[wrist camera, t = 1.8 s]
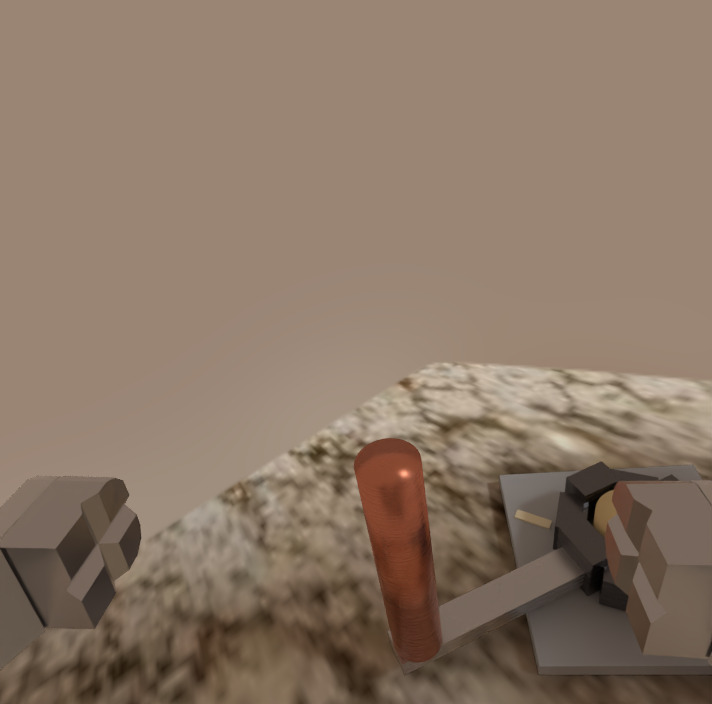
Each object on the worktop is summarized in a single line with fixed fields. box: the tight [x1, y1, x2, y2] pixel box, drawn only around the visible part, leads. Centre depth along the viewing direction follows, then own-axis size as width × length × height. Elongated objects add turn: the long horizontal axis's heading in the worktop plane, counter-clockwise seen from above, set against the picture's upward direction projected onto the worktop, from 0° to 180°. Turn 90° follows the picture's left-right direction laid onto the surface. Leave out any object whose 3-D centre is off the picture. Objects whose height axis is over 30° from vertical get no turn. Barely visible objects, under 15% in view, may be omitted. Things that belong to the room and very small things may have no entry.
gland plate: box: [499, 465, 712, 675], centre depth 33 cm, size 14×14×4 cm
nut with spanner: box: [354, 438, 680, 675], centre depth 28 cm, size 21×9×16 cm, turn 111°
